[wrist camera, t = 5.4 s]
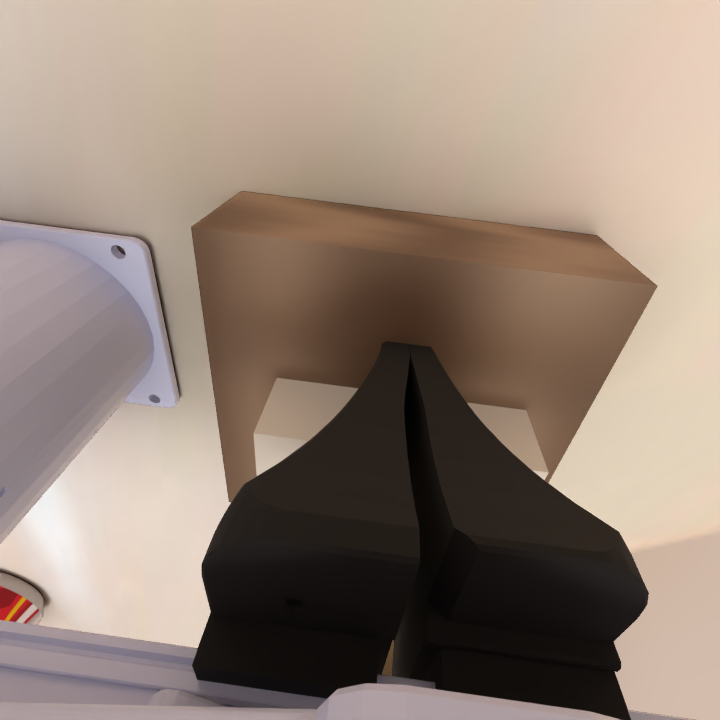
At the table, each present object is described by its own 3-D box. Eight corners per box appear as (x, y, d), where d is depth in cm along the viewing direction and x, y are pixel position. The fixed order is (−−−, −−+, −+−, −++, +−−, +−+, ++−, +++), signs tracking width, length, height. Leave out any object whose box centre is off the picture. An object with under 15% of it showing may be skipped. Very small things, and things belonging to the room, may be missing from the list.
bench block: (257, 433, 21) (229, 501, 17) (241, 191, 14) (190, 226, 11) (497, 466, 20) (515, 541, 17) (597, 235, 14) (657, 285, 10)
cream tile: (279, 461, 16) (259, 520, 14) (277, 377, 13) (253, 433, 11) (491, 489, 15) (504, 554, 13) (526, 410, 13) (548, 472, 11)
